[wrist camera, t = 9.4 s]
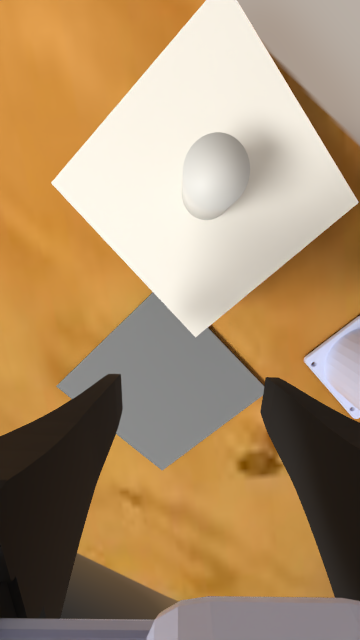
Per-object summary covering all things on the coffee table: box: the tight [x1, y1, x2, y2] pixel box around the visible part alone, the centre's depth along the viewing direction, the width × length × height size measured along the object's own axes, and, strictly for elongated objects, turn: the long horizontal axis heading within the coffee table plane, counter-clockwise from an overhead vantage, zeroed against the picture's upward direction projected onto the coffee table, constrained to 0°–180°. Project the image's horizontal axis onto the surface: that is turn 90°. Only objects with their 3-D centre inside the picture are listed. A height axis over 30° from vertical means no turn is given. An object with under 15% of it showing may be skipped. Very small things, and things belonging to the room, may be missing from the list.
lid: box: [52, 0, 359, 337], centre depth 12 cm, size 13×13×4 cm
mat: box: [56, 293, 265, 470], centre depth 23 cm, size 15×15×1 cm
